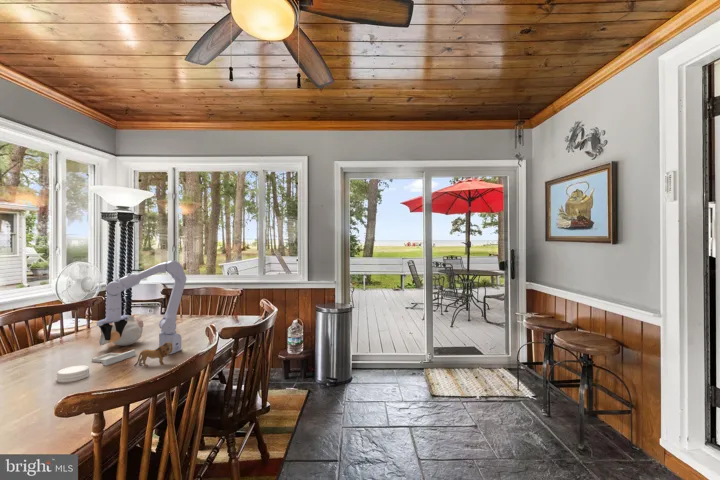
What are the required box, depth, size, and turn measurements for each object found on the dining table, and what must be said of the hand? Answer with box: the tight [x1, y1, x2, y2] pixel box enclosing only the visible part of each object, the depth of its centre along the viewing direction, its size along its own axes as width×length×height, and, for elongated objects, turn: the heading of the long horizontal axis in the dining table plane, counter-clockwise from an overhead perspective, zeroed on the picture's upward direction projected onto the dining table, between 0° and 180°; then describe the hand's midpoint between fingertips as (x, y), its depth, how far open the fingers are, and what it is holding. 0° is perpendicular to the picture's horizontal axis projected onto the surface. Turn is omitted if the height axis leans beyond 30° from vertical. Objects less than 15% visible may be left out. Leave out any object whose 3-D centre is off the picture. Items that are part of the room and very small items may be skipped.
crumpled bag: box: [98, 314, 144, 347], centre depth 186 cm, size 16×19×15 cm
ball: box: [108, 331, 120, 343], centre depth 163 cm, size 5×5×5 cm
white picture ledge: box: [102, 349, 137, 367], centre depth 162 cm, size 2×15×2 cm, turn 165°
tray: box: [91, 352, 120, 364], centre depth 163 cm, size 9×9×1 cm
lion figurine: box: [133, 342, 173, 367], centre depth 157 cm, size 15×5×9 cm, turn 118°
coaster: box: [56, 365, 90, 383], centre depth 141 cm, size 10×10×4 cm
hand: (113, 338), depth 163 cm, fingers closed on ball, 5 cm apart
